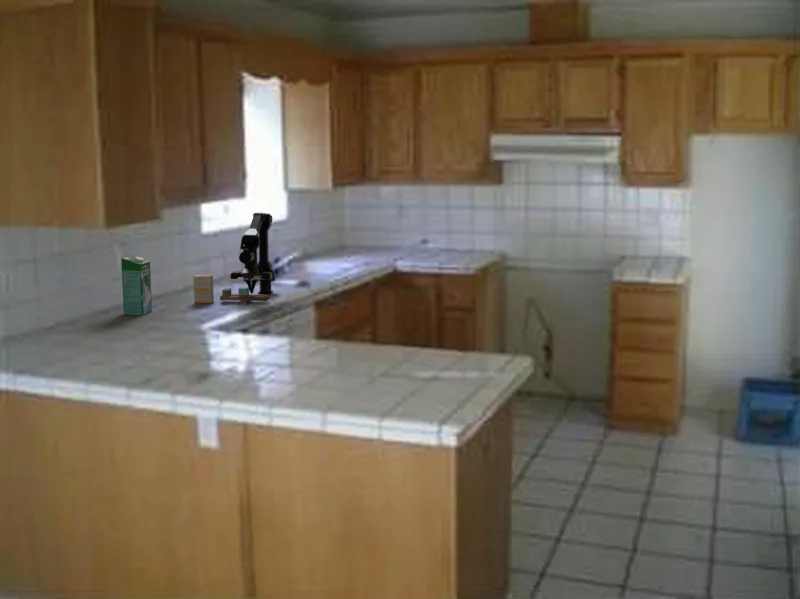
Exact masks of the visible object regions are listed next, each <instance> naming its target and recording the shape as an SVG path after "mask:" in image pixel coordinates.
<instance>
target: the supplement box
mask: <svg viewBox="0 0 800 599" xmlns="http://www.w3.org/2000/svg"><path fill="white" fill-rule="evenodd" d="M192 277H193V280H192V281H193V301H194V303H193V304H208V305H209V304H212V303H214V302H215V301H214V300H215V296H214V275H213V274H195V275H193V276H192Z"/></svg>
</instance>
